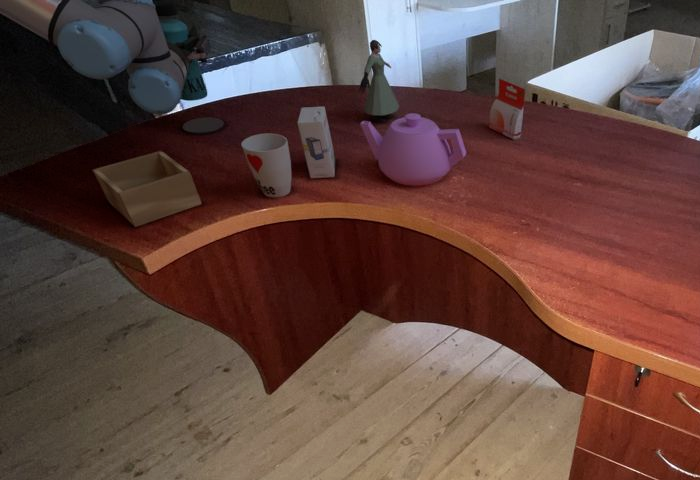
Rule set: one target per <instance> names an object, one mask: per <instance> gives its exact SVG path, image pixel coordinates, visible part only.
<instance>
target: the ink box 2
mask: <svg viewBox="0 0 700 480" xmlns="http://www.w3.org/2000/svg"><path fill="white" fill-rule="evenodd" d="M511 87H512V89H513V90H515V91H516V92H514V91H512V90H510V89H508V88H511ZM525 95H526V89H525V88H524V87H521V86H518V85H516V84H513V83H512V82H509V81H506V80H504V79H502V78H498V95H497V97H496V98H495V100H494V101H493V103H492V105H491V107H490V109H489V122H490V123H492V124H494V125H497V126H499V127H501V128H503V129H504V130H507V131H508V132H511V133H513V134H517V133H519V132H521V134H520V135H518V136H512V135H510V134H507V133H505V132H503V131H501V130H499V129H497V128H495V127H493V126H491V125H489V124H488V128H489V129H491V130H493V131H495V132H497V133H499V134H501V135H503V136H505V137H507V138H510V139H511V140H518V139H520V138H521V135H522V127H523V119H524V118H523V117H524V108H525Z"/></svg>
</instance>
